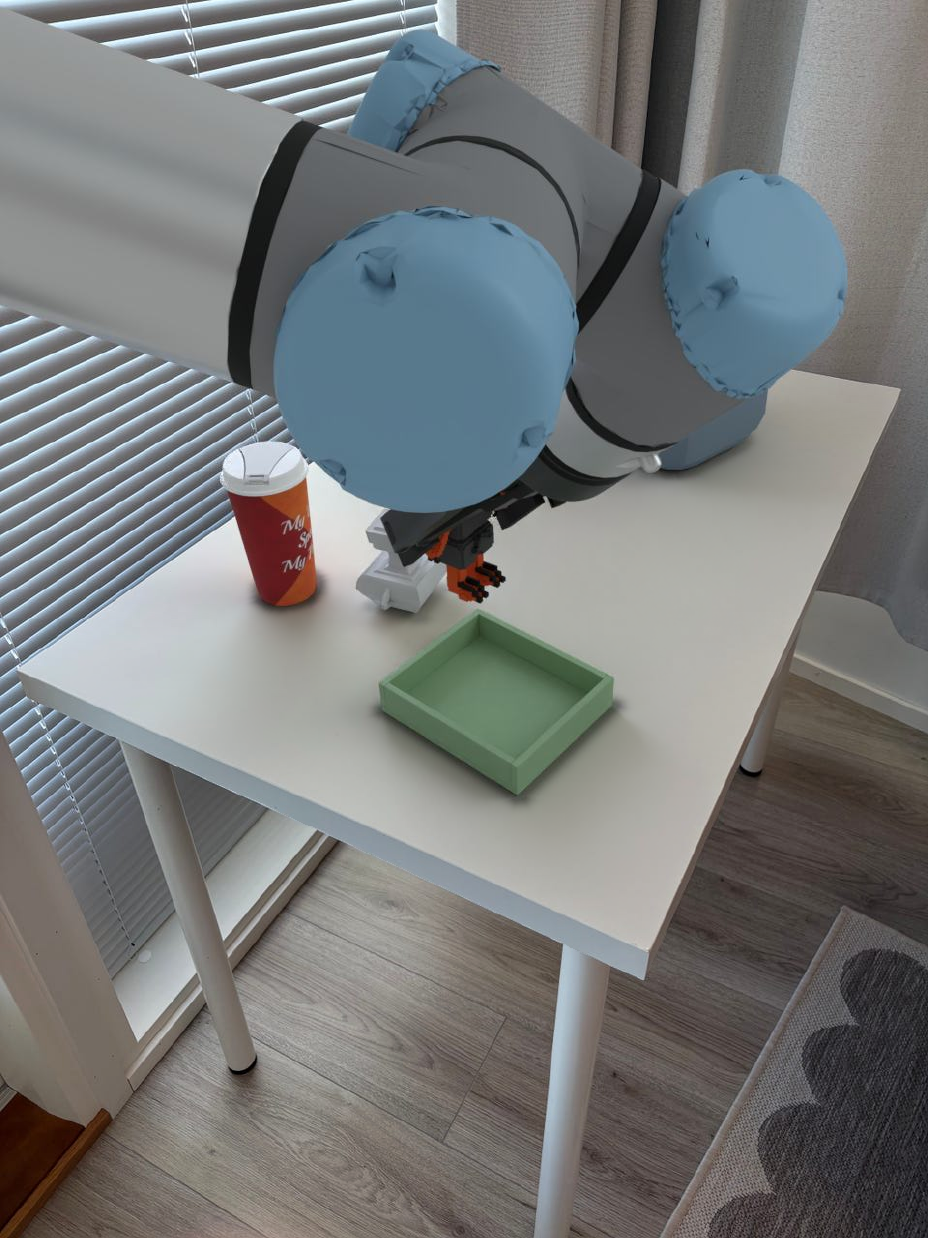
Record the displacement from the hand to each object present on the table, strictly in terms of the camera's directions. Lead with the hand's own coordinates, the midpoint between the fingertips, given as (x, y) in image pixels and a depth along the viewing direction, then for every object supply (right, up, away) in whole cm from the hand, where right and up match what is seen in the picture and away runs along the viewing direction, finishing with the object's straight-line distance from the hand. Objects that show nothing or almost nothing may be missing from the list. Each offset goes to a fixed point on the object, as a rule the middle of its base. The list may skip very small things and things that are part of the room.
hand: (451, 529), depth 70 cm
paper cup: (-16, -4, +21) cm, 27 cm away
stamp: (-4, -5, +19) cm, 20 cm away
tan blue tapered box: (+25, +14, +41) cm, 50 cm away
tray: (+4, -14, +7) cm, 16 cm away
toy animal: (+2, -4, 0) cm, 5 cm away
